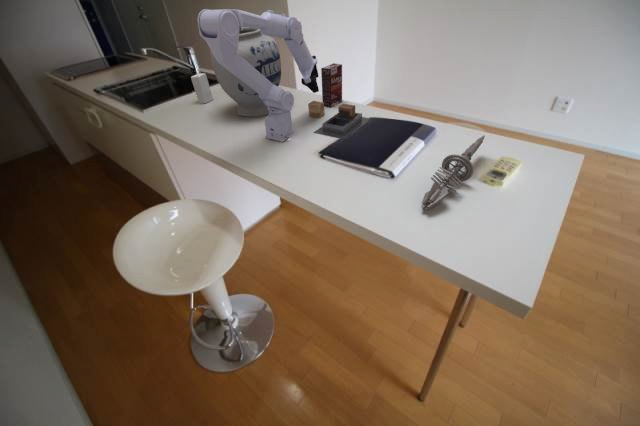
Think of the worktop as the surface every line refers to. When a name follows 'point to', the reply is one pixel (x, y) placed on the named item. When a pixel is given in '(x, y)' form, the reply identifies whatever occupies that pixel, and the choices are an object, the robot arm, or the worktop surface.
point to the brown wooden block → (346, 111)
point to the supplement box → (331, 85)
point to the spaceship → (451, 175)
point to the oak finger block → (316, 109)
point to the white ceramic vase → (263, 58)
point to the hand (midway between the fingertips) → (316, 84)
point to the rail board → (341, 126)
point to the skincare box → (202, 88)
